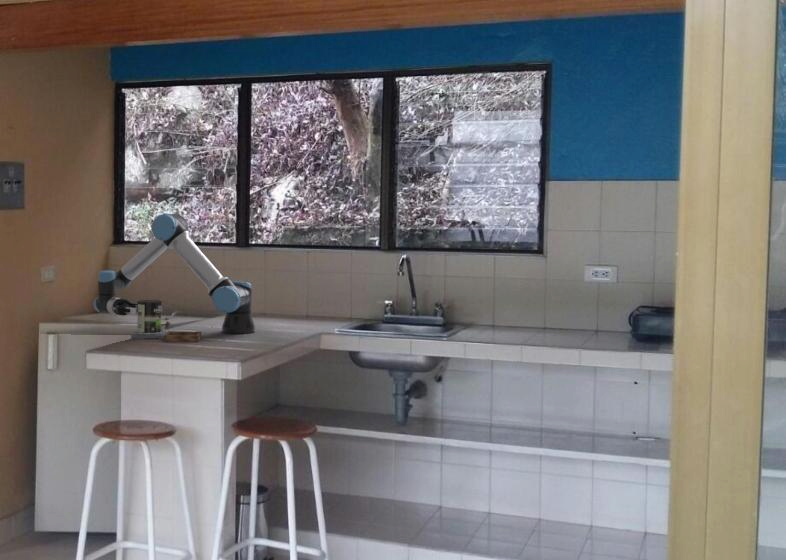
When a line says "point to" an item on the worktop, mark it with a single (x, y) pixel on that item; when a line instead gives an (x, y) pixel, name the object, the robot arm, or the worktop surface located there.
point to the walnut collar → (182, 336)
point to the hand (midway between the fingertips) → (148, 310)
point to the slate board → (142, 336)
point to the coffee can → (149, 317)
